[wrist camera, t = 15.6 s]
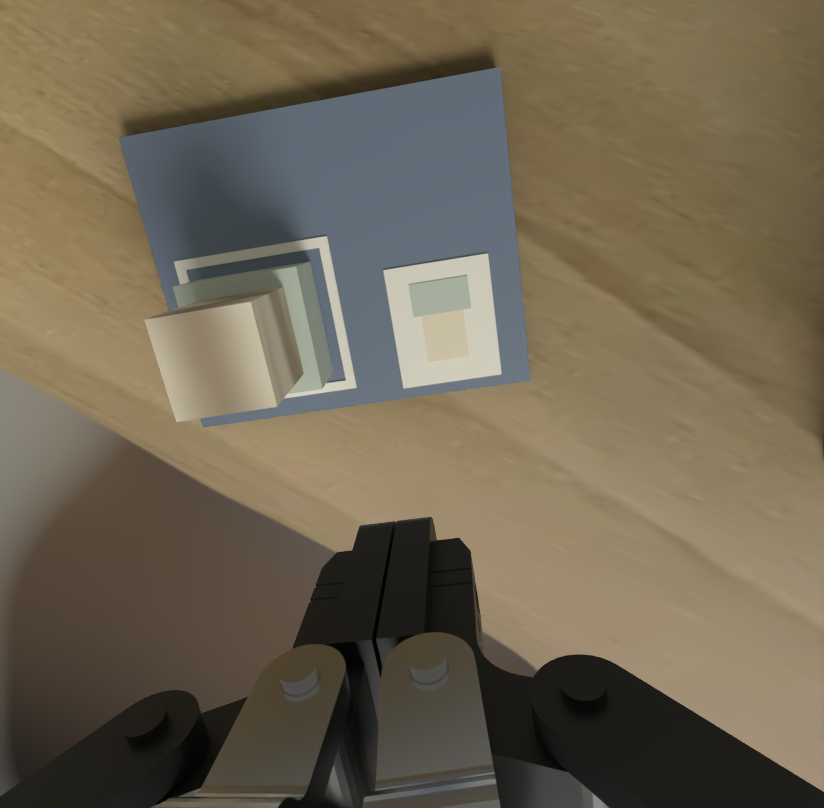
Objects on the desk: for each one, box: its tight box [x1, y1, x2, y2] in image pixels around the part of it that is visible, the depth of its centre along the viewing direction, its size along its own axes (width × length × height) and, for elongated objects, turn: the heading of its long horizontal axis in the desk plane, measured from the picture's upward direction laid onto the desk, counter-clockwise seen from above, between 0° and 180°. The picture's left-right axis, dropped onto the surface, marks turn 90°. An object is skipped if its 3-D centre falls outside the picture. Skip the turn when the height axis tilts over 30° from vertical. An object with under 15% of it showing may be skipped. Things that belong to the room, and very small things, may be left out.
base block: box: [173, 261, 333, 394], centre depth 34 cm, size 7×7×4 cm
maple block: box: [145, 287, 304, 422], centre depth 29 cm, size 5×5×6 cm
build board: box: [119, 67, 531, 427], centre depth 35 cm, size 22×18×1 cm
